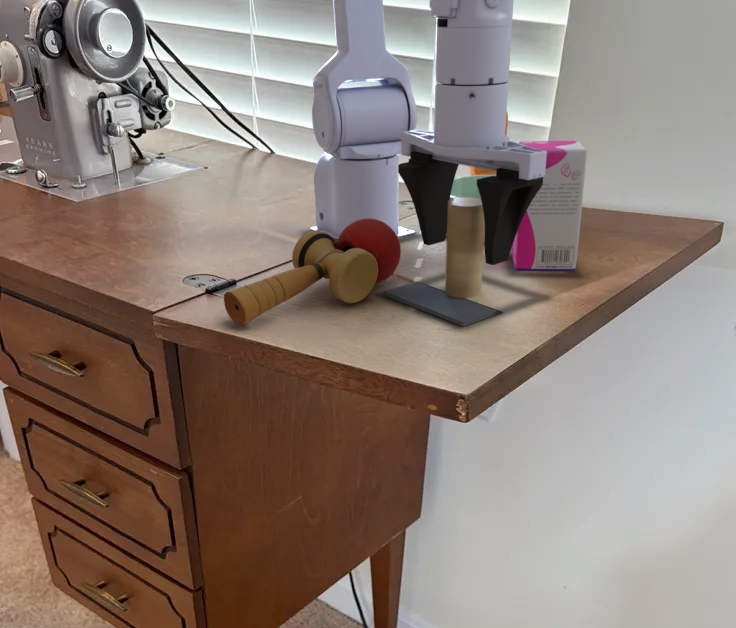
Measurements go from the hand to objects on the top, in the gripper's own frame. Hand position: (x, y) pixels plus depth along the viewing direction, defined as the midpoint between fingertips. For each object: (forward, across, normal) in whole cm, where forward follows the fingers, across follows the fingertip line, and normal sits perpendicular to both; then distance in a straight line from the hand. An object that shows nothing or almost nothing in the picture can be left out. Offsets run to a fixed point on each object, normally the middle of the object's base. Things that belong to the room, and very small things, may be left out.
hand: (464, 251), depth 68 cm
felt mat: (+4, 0, 0) cm, 4 cm away
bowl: (+4, +14, -19) cm, 24 cm away
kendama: (+4, +8, +10) cm, 14 cm away
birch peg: (+4, 0, 0) cm, 4 cm away
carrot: (+4, +24, -28) cm, 37 cm away
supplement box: (+4, +1, -12) cm, 13 cm away
